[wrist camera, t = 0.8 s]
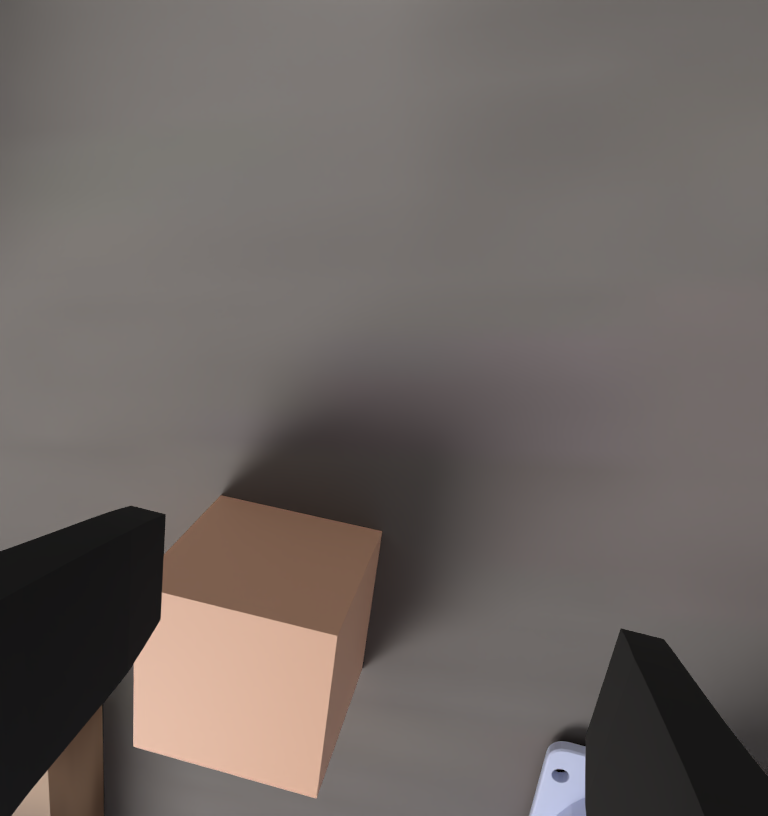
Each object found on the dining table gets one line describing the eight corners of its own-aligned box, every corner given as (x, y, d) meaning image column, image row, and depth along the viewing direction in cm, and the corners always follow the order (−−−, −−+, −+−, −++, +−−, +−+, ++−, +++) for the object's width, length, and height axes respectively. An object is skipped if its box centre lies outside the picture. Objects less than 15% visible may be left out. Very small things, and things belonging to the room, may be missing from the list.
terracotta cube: (362, 667, 22) (316, 798, 18) (214, 629, 23) (133, 746, 19) (382, 529, 21) (337, 635, 16) (221, 494, 21) (134, 586, 17)
